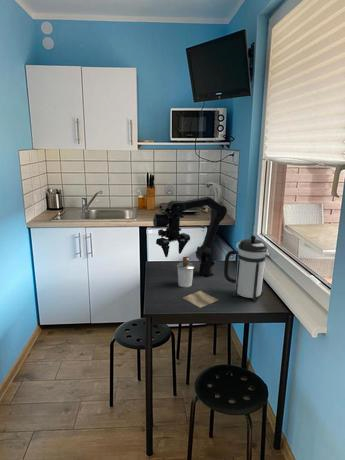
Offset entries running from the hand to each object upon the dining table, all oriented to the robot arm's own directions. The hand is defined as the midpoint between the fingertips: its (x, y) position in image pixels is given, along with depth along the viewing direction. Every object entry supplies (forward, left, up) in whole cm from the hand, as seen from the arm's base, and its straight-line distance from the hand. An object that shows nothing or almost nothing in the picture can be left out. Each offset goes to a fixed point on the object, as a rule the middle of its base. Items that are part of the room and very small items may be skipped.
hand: (173, 255), depth 171 cm
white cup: (0, +10, -13) cm, 16 cm away
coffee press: (-15, +36, -13) cm, 41 cm away
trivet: (+5, +26, -13) cm, 29 cm away
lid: (0, +10, -3) cm, 10 cm away
